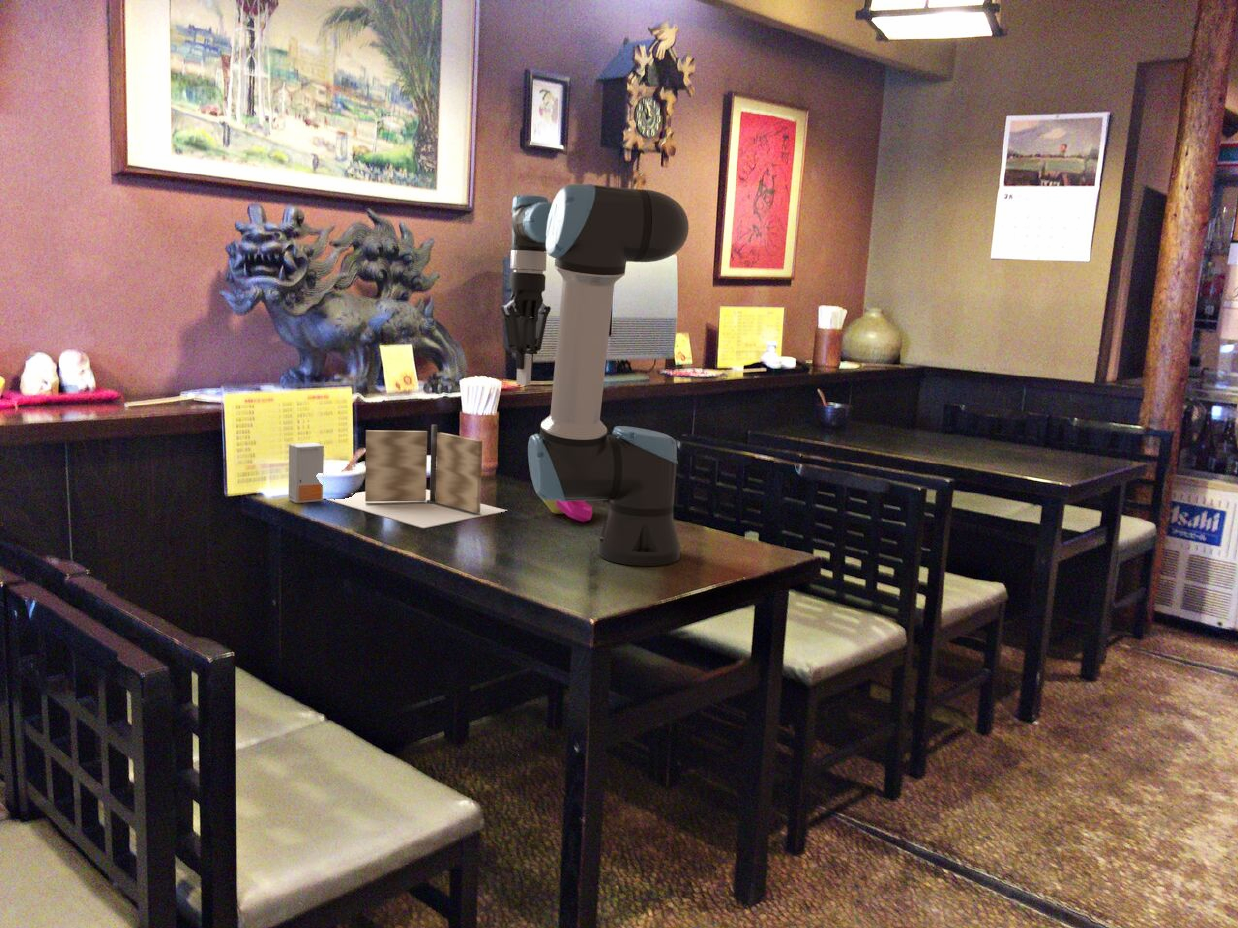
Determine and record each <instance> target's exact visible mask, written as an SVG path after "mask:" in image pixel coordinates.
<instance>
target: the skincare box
mask: <svg viewBox="0 0 1238 928" xmlns="http://www.w3.org/2000/svg"><path fill="white" fill-rule="evenodd" d="M324 453H325V446H324V445H322V444H320V443H318V442H304V443H303V442H302V443H291V444H289V445H288V500H289V501H291V502H293V503H294V504H301V503H303V504H304V503H314V502H323V501H324V499H323V498H324V484H323V485H322V484H321V483H320V482H319V480H318V479H317V477H316V475H317V474H318V473H323V474H324V466H325V465H324V463H325V462H324V460H325V459H324V456H325V454H324Z"/></svg>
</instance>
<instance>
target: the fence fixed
mask: <svg viewBox="0 0 1238 928" xmlns="http://www.w3.org/2000/svg"><path fill="white" fill-rule="evenodd" d="M430 437H431V438H430V442H431V443H430V480H429V487H430V489H429V490H430V500H427V503H440V504H444V505H447V506H451V507H455V508H459V509H462V510H466V511H470V512H474V513H480V503H481V498H482V497H481V492H482V466H483V465H482V464H483V463H482V461H483V440H480V439H475V438H471V437H465V436H460V435H456V434H451V433H445V432H438V424H431V435H430Z"/></svg>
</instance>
